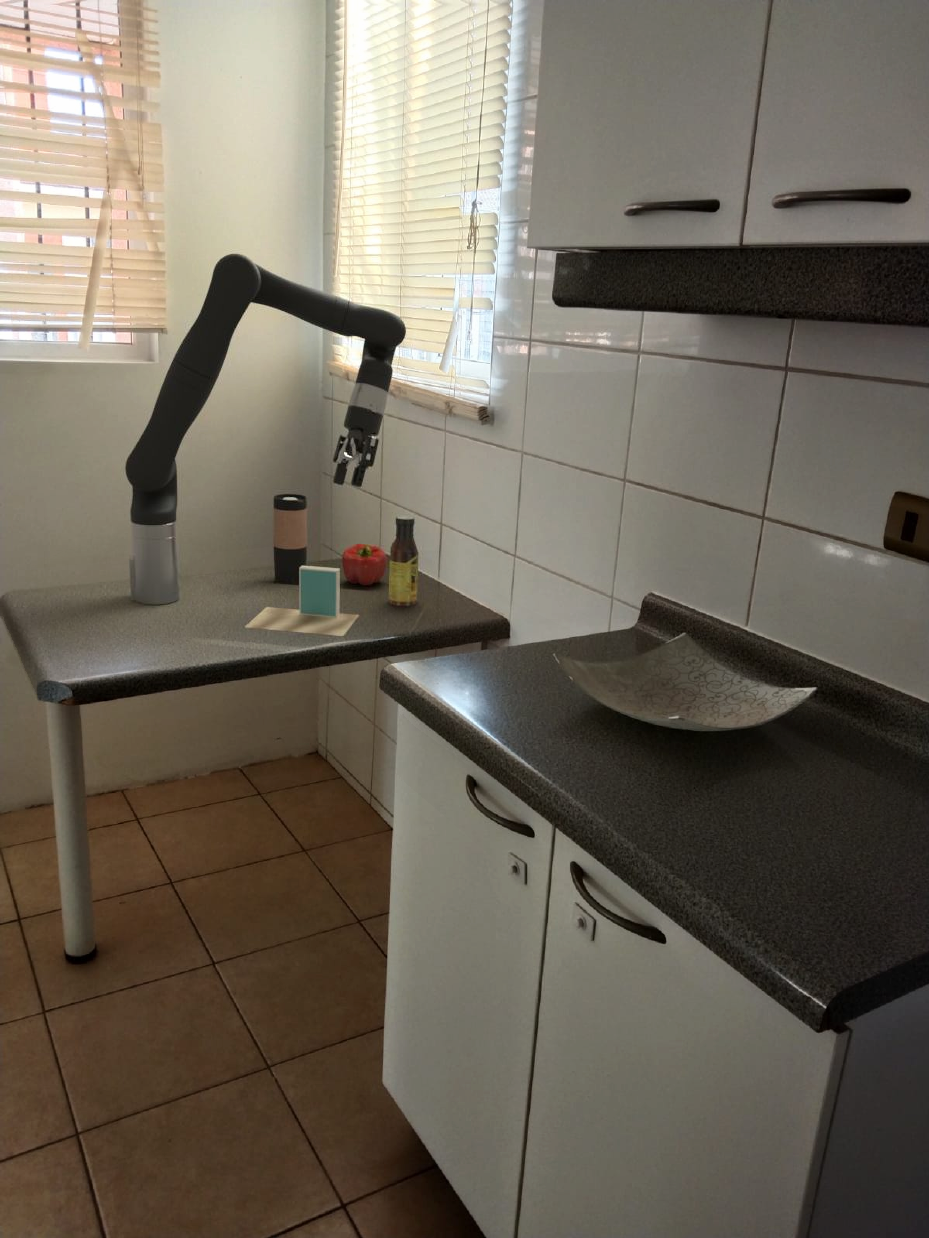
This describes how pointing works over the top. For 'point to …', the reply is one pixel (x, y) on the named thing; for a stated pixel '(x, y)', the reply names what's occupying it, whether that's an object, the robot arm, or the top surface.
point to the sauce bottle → (403, 564)
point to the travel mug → (289, 537)
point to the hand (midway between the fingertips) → (346, 485)
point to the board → (301, 622)
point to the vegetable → (364, 564)
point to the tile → (319, 591)
